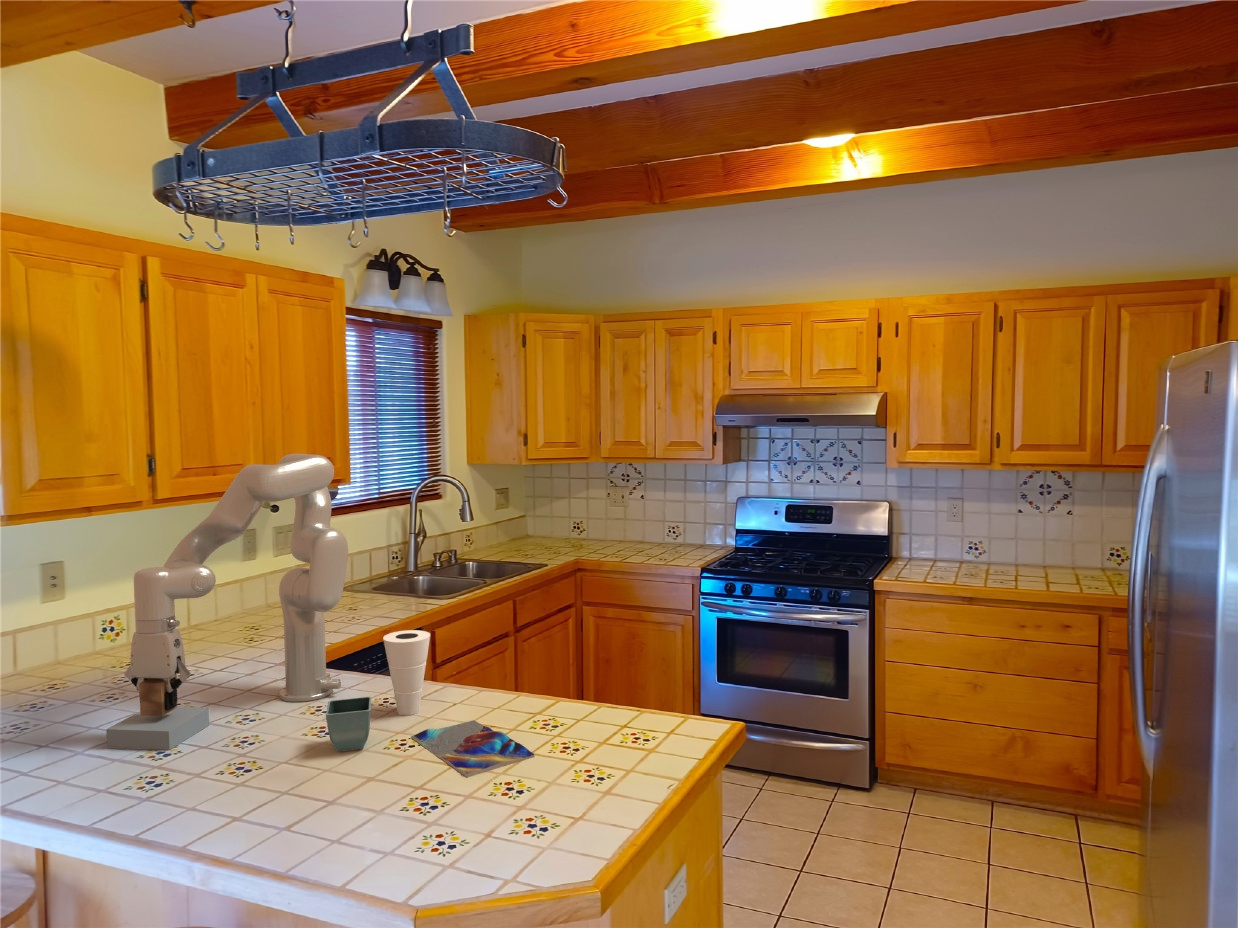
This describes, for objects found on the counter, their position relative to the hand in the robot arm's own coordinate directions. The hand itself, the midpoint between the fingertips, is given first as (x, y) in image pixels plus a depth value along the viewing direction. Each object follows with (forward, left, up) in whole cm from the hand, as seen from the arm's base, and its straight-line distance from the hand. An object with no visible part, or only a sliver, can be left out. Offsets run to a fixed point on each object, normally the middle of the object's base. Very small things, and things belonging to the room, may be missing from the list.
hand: (158, 706), depth 181 cm
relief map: (-69, 0, -7) cm, 70 cm away
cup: (-49, -19, -7) cm, 53 cm away
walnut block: (0, 0, -1) cm, 1 cm away
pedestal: (0, 0, -7) cm, 7 cm away
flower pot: (-44, +2, -7) cm, 45 cm away
